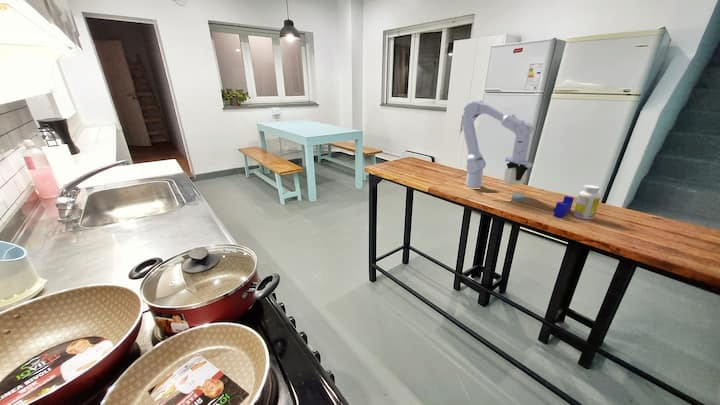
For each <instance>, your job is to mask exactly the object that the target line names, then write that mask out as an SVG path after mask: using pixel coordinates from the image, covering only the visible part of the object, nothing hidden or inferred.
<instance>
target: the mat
mask: <svg viewBox="0 0 720 405" xmlns="http://www.w3.org/2000/svg"><path fill="white" fill-rule="evenodd" d="M512 193H513V195H512V198H511V199H512V200H511V201H510V202H509V203H525V204H526V203H528V204H529V203H530V204H532V203H533V202H532V201H531V199H529V198H528V197H527V196H526V195H525V194H524V193H523V192H512Z"/></svg>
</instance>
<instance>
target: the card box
mask: <svg viewBox="0 0 720 405" xmlns="http://www.w3.org/2000/svg"><path fill="white" fill-rule="evenodd" d="M527 173H528V169H527V170H526V171H525V173H524V174H523V176H522V178H521V180H518V181H517V180H516V168H508V167H507V168H505V171H504V177H503V184H505V185H508V186H511V185H512V186H513V185H519V184H521V185H522V184H525V183H526V178H527Z"/></svg>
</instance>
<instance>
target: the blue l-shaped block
mask: <svg viewBox="0 0 720 405" xmlns="http://www.w3.org/2000/svg"><path fill="white" fill-rule="evenodd" d="M573 203H574V197H573V196H567V195H565V196H564V197H563V200H562V201H557V202H556V204H555V207H554V210H553V212H554V213H553V217H555V218H558V219H563V218H564V217H565V216H566V215H567V214H569V212H571V210H572V207H573V206H572V205H573Z"/></svg>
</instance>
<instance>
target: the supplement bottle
mask: <svg viewBox="0 0 720 405" xmlns="http://www.w3.org/2000/svg"><path fill="white" fill-rule="evenodd" d="M599 191H600V186H597V185H593V184H584V187H583V190H582V191H580V192H579V193H578V197H577V200H576V205H575V208H574V213H573V215H574V216H575V217H576V218H579V219H583V220H593V219H594V218H595V217H596V213H597V209H598V206H599V203H600V199H601V194H600V193H599Z"/></svg>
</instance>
